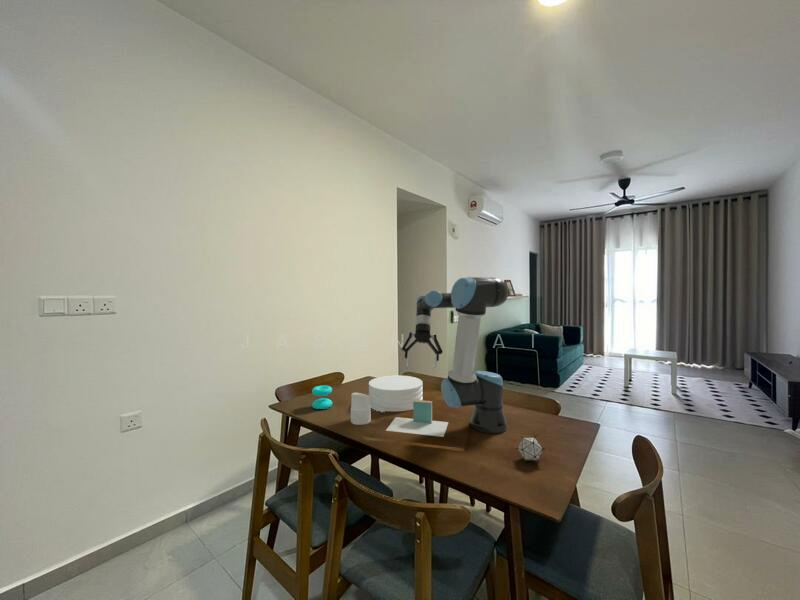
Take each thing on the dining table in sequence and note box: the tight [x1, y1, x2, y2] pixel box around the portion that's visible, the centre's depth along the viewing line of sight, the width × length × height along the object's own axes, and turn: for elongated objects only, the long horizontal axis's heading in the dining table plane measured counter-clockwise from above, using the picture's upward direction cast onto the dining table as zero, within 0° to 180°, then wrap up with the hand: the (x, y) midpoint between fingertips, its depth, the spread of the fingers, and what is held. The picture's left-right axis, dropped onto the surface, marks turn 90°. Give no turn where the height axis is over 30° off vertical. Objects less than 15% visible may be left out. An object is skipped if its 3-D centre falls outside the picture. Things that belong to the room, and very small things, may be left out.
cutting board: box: [385, 416, 449, 438], centre depth 140 cm, size 24×15×1 cm, turn 74°
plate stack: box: [368, 374, 424, 413], centre depth 172 cm, size 28×28×12 cm
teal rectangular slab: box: [412, 399, 433, 423], centre depth 145 cm, size 8×2×9 cm, turn 74°
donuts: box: [311, 385, 333, 410], centre depth 168 cm, size 10×10×10 cm
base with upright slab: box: [350, 392, 372, 426], centre depth 150 cm, size 9×9×12 cm
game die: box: [514, 434, 546, 463], centre depth 113 cm, size 9×8×10 cm
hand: (421, 366), depth 160 cm, fingers open, 13 cm apart
